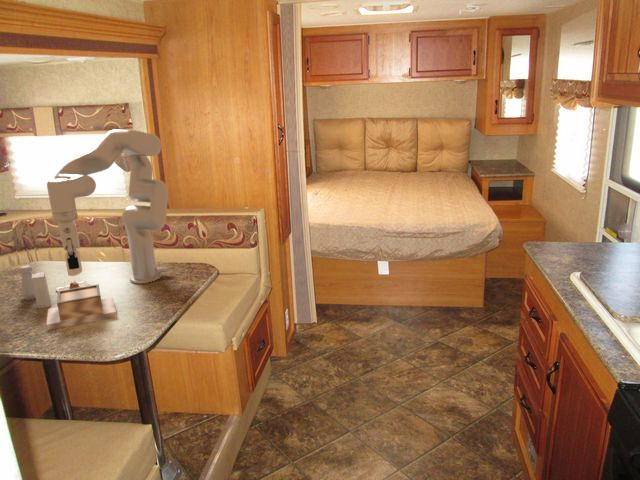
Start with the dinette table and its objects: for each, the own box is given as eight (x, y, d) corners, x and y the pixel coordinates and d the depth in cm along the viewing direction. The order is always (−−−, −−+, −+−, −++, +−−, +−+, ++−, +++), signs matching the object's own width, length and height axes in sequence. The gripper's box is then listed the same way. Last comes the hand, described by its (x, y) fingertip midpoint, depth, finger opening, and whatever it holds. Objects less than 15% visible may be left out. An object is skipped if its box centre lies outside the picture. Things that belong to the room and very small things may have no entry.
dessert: (55, 291, 208) (53, 280, 207) (85, 283, 216) (84, 272, 214) (63, 300, 199) (61, 288, 198) (95, 291, 207) (93, 280, 205)
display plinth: (113, 302, 195) (110, 281, 193) (116, 316, 183) (113, 294, 180) (49, 313, 186) (44, 292, 184) (47, 330, 174) (43, 306, 172)
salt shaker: (32, 301, 198) (25, 269, 194) (19, 300, 199) (12, 268, 195) (42, 295, 203) (36, 264, 199) (30, 294, 204) (23, 263, 200)
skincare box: (50, 306, 193) (45, 276, 189) (37, 309, 191) (31, 278, 187) (51, 300, 198) (45, 271, 194) (37, 303, 196) (31, 273, 192)
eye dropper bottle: (64, 274, 179) (58, 241, 175) (79, 269, 183) (73, 237, 180) (71, 277, 177) (65, 244, 173) (86, 272, 181) (80, 239, 177)
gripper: (77, 220, 168) (86, 271, 173) (76, 208, 182) (85, 256, 188) (52, 223, 165) (62, 275, 170) (53, 211, 180) (62, 260, 185)
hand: (74, 265), depth 179 cm, fingers closed on eye dropper bottle, 5 cm apart
